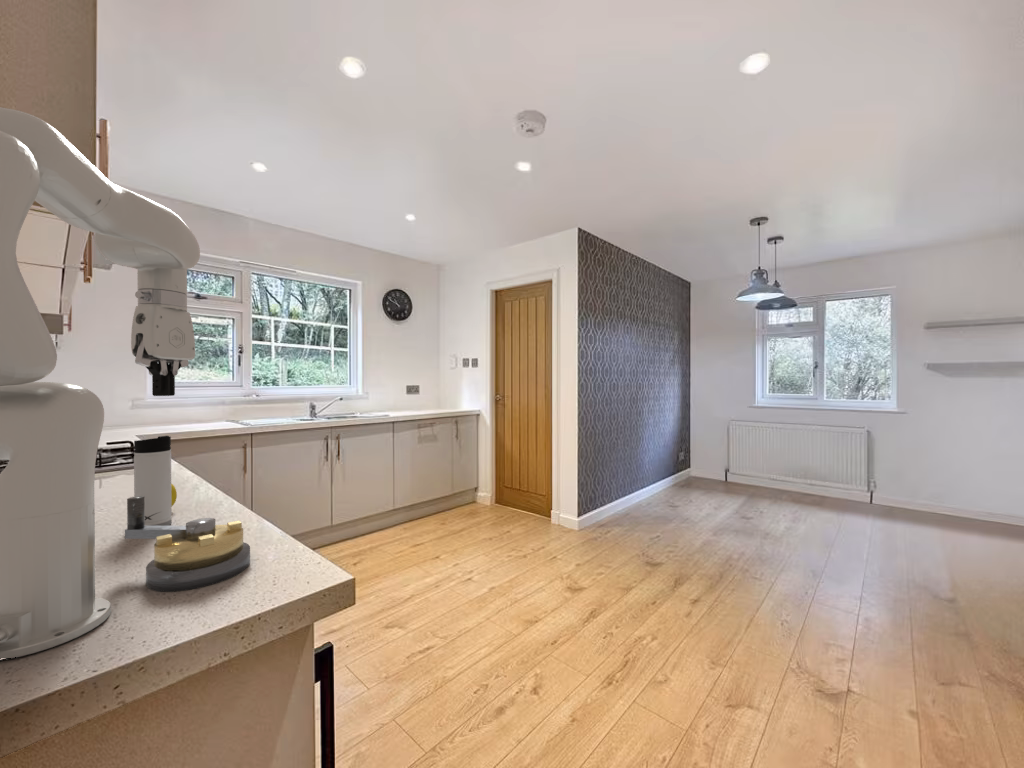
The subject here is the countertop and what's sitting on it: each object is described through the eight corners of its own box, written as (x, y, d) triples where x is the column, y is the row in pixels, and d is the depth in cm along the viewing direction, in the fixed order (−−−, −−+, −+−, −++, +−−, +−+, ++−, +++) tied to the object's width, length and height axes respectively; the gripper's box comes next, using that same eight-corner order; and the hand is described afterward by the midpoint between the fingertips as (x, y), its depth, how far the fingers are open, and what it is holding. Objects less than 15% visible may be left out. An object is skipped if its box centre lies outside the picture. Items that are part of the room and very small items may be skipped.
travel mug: (151, 532, 90) (150, 438, 90) (126, 530, 91) (125, 437, 91) (180, 523, 96) (179, 434, 96) (156, 521, 97) (155, 433, 97)
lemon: (182, 510, 106) (182, 478, 106) (161, 517, 100) (161, 483, 100) (163, 509, 107) (163, 477, 107) (141, 516, 101) (140, 482, 101)
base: (215, 590, 65) (215, 574, 65) (121, 592, 64) (121, 575, 64) (266, 553, 79) (266, 540, 79) (189, 554, 78) (189, 541, 78)
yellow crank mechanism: (258, 541, 77) (258, 488, 77) (210, 570, 65) (210, 508, 65) (159, 541, 78) (159, 488, 77) (94, 570, 66) (93, 508, 65)
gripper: (146, 294, 76) (147, 397, 76) (210, 308, 91) (211, 394, 91) (106, 295, 76) (107, 397, 77) (177, 309, 91) (177, 394, 91)
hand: (163, 395), depth 84 cm, fingers closed
